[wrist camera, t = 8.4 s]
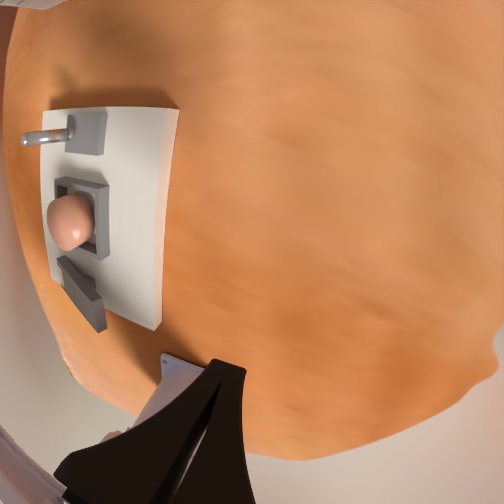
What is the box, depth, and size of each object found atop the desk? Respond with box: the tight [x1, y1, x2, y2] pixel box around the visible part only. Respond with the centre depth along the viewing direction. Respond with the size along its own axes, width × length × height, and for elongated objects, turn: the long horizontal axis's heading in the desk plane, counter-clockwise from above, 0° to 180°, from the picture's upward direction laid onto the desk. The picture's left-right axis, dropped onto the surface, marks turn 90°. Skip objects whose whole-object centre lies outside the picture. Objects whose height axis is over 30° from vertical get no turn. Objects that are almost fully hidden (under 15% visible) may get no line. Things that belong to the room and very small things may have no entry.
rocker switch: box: [56, 255, 107, 333], centre depth 20 cm, size 3×8×1 cm, turn 79°
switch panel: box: [40, 107, 180, 331], centre depth 19 cm, size 18×14×3 cm
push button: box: [46, 193, 95, 251], centre depth 17 cm, size 4×4×2 cm
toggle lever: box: [20, 128, 75, 147], centre depth 13 cm, size 1×1×4 cm
